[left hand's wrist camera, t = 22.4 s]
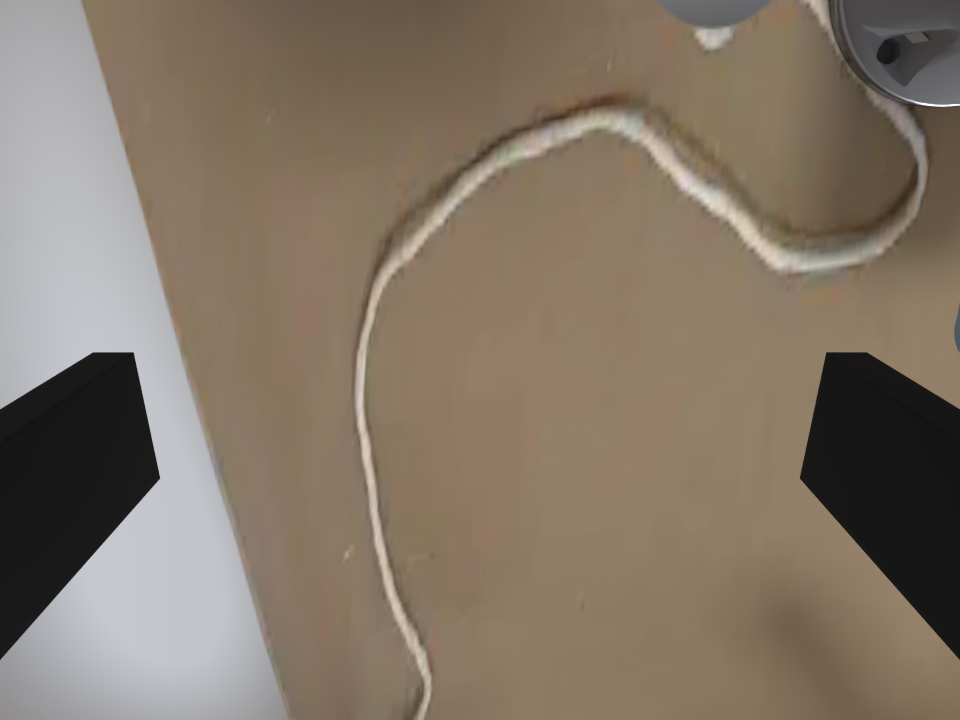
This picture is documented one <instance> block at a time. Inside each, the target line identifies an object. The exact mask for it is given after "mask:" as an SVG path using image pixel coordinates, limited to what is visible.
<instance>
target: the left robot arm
mask: <svg viewBox="0 0 960 720" xmlns="http://www.w3.org/2000/svg"><path fill="white" fill-rule="evenodd" d="M830 8H831V17H832V24H833V28H834V32H835V36H836V39H837V42H838V44H839V47H840V49H841V51H842V54H843V56H844V58H845V59H846V61H847V63H848V64H849V66H850V67H851V69H852V70H853V71H854V72H855V74H856V75H857V76H858V77H859V78H860V79H861V80H862V81H863V82H864V83H865V84H866V85H867V86H869V87H870V88H871V89H873V90H874V91H875V92H877V93H879V94H881V95H882V96H884V97H886V98H889V99H891V100H893V101H896V102H900V103H903V104H908V105H914V106H926V107H934V106H956V105H960V0H830ZM955 342H956V346H957V349H958V350H959V352H960V305H959V310H958V315H957V319H956V324H955ZM159 479H160V475H159V471H158V466H157V461H156V456H155V452H154V447H153V442H152V438H151V433H150V428H149V423H148V419H147V414H146V409H145V404H144V399H143V395H142V390H141V385H140V381H139V376H138V371H137V366H136V362H135V357H134V353H133V352H130V353H129V352H128V353H126V352H125V353H124V352H118V353H117V352H115V353H114V352H112V353H111V352H109V353H107V352H100V353H99V352H96V353H92V354H90V355H88V356H87V357H85V358H83V359H82V360H80V361H78V362H77V363H75V364H74V365H72V366H70V367H69V368H67V369H65V370H64V371H62V372H60V373H59V374H57V375H56V376H54V377H52V378H51V379H49V380H47V381H46V382H44V383H43V384H41V385H39V386H38V387H36V388H34V389H33V390H31V391H29V392H28V393H26V394H25V395H23V396H21V397H20V398H18V399H16V400H15V401H13V402H12V403H10V404H8V405H7V406H5V407H3V408H2V409H0V659H1V658H2V657H3V656H4V655H5V654H6V653H7V652H8V650H9V649H10V648H11V647H12V646H13V645H14V644H15V642H16V641H17V640H18V639H19V638H20V637H21V636H22V635H23V633H24V632H25V631H26V630H27V629H28V628H29V627H30V625H31V624H32V623H33V622H34V621H35V620H36V619H37V618H38V616H39V615H40V614H41V613H42V612H43V611H44V610H45V608H46V607H47V606H48V605H49V604H50V603H51V602H52V600H53V599H54V598H55V597H56V596H57V595H58V594H59V593H60V591H61V590H62V589H63V588H64V587H65V586H66V585H67V584H68V582H69V581H70V580H71V579H72V578H73V577H74V576H75V574H76V573H77V572H78V571H79V570H80V569H81V568H82V566H83V565H84V564H85V563H86V562H87V561H88V560H89V559H90V557H91V556H92V555H93V554H94V553H95V552H96V551H97V549H98V548H99V547H100V546H101V545H102V544H103V543H104V542H105V540H106V539H107V538H108V537H109V536H110V535H111V533H112V532H113V531H114V530H115V529H116V528H117V527H118V526H119V525H120V523H121V522H122V521H123V520H124V519H125V518H126V517H127V515H128V514H129V513H130V512H131V511H132V510H133V509H134V507H135V506H136V505H137V504H138V503H139V502H140V501H141V500H142V498H143V497H144V496H145V495H146V494H147V493H148V492H149V490H150V489H151V488H152V487H153V486H154V485H155V484H156V483H157V481H158V480H159ZM800 479H801V480H802V481H803V483H804V484H805V485H806V486H807V487H808V488H809V489H810V490H811V492H812V493H813V494H814V495H815V496H816V497H817V498H818V500H819V501H820V502H821V503H822V504H823V505H824V506H825V507H826V509H827V510H828V511H829V512H830V513H831V514H832V515H833V517H834V518H835V519H836V520H837V521H838V522H839V523H840V525H841V526H842V527H843V528H844V529H845V530H846V531H847V532H848V534H849V535H850V536H851V537H852V538H853V539H854V540H855V542H856V543H857V544H858V545H859V546H860V547H861V548H862V549H863V551H864V552H865V553H866V554H867V555H868V556H869V557H870V559H871V560H872V561H873V562H874V563H875V564H876V565H877V566H878V568H879V569H880V570H881V571H882V572H883V573H884V574H885V576H886V577H887V578H888V579H889V580H890V581H891V582H892V584H893V585H894V586H895V587H896V588H897V589H898V590H899V591H900V593H901V594H902V595H903V596H904V597H905V598H906V599H907V601H908V602H909V603H910V604H911V605H912V606H913V607H914V608H915V610H916V611H917V612H918V613H919V614H920V615H921V616H922V618H923V619H924V620H925V621H926V622H927V623H928V624H929V625H930V627H931V628H932V629H933V630H934V631H935V632H936V633H937V635H938V636H939V637H940V638H941V639H942V640H943V641H944V642H945V644H946V645H947V646H948V647H949V648H950V649H951V650H952V652H953V653H954V654H955V655H956V656H957V657H958V658H959V660H960V409H958V408H957V407H955V406H953V405H952V404H950V403H948V402H947V401H945V400H944V399H942V398H940V397H939V396H937V395H935V394H934V393H932V392H931V391H929V390H927V389H926V388H924V387H922V386H921V385H919V384H917V383H916V382H914V381H913V380H911V379H909V378H908V377H906V376H904V375H903V374H901V373H900V372H898V371H896V370H895V369H893V368H891V367H890V366H888V365H886V364H885V363H883V362H882V361H880V360H878V359H877V358H875V357H873V356H872V355H870V354H868V353H867V352H826V357H825V362H824V366H823V371H822V376H821V381H820V385H819V390H818V395H817V399H816V404H815V409H814V414H813V418H812V423H811V428H810V433H809V437H808V442H807V447H806V452H805V456H804V461H803V466H802V471H801V475H800Z"/></svg>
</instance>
